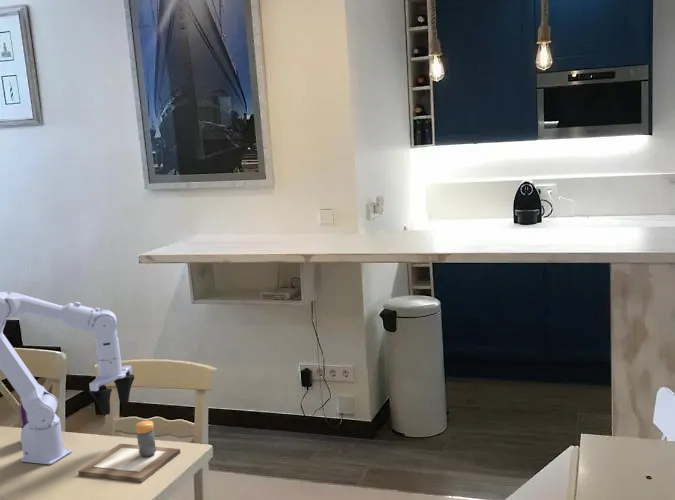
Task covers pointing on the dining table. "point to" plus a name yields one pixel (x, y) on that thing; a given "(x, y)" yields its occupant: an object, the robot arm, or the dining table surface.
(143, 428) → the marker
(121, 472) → the board
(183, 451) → the dining table surface
